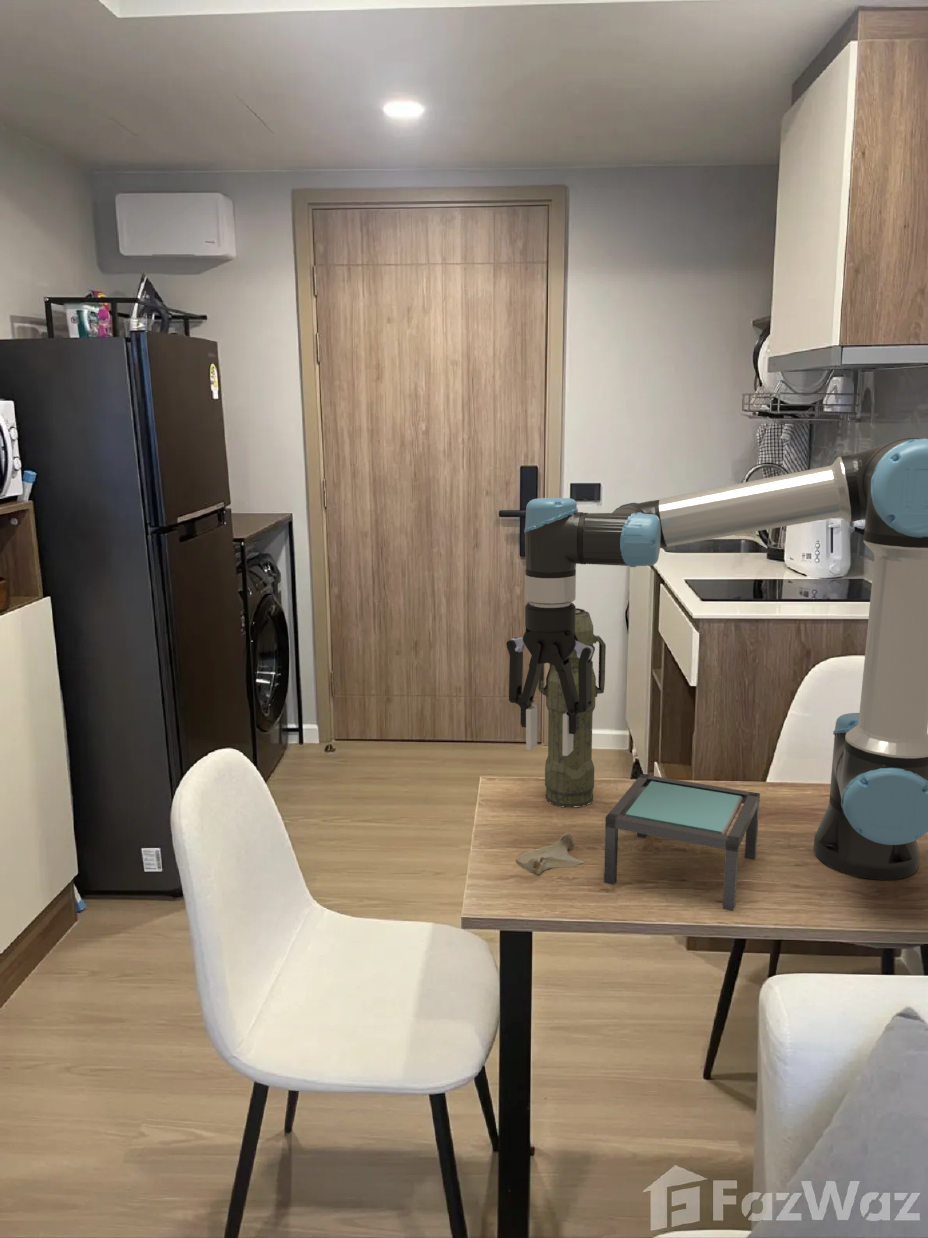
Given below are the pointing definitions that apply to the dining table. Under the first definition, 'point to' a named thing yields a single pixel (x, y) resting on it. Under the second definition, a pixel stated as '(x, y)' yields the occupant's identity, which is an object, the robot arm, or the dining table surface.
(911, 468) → the robot arm
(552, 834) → the dining table surface
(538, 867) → the fossil
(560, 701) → the thermos
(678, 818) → the trapdoor
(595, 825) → the dining table surface
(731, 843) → the frame
